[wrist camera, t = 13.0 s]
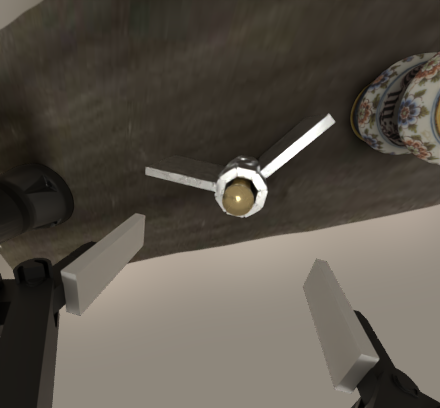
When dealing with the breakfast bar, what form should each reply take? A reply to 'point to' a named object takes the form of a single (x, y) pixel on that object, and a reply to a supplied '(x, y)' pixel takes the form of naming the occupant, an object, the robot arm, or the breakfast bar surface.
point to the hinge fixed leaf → (211, 176)
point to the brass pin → (238, 197)
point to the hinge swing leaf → (289, 145)
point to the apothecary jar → (402, 109)
